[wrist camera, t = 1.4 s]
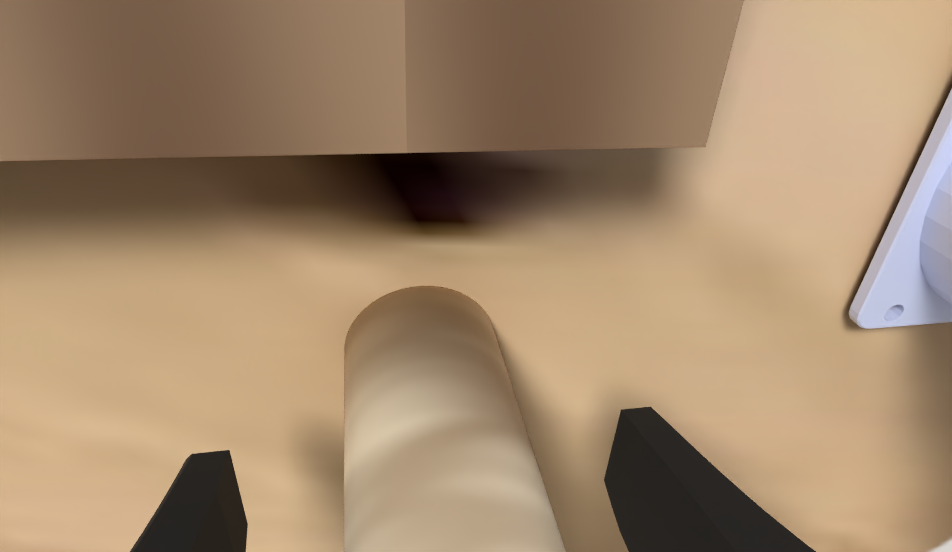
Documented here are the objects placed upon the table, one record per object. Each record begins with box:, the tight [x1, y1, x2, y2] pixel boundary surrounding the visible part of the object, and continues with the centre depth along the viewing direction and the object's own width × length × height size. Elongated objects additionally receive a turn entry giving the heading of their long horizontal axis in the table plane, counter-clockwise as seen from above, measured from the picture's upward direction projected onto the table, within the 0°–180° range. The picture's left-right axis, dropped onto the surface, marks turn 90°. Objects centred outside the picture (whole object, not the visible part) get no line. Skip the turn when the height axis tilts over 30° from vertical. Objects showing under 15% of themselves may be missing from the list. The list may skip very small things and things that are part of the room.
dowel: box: [344, 286, 566, 552], centre depth 11 cm, size 4×4×8 cm
